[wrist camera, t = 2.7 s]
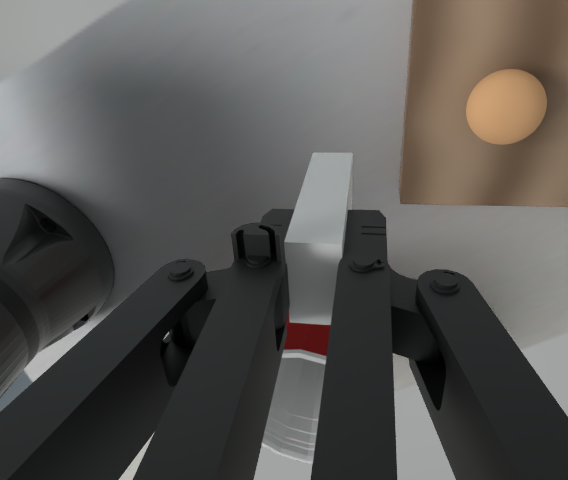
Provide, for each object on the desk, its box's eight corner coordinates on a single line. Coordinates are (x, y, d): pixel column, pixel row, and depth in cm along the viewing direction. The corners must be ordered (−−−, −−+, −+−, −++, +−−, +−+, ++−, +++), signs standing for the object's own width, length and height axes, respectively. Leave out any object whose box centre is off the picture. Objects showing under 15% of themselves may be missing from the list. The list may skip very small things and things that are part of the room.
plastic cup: (252, 248, 38) (210, 352, 28) (385, 252, 37) (391, 364, 26) (264, 345, 44) (232, 461, 34) (380, 352, 42) (383, 477, 32)
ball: (456, 131, 28) (468, 155, 25) (465, 63, 26) (479, 78, 23) (526, 131, 28) (547, 155, 24) (541, 61, 26) (566, 76, 22)
